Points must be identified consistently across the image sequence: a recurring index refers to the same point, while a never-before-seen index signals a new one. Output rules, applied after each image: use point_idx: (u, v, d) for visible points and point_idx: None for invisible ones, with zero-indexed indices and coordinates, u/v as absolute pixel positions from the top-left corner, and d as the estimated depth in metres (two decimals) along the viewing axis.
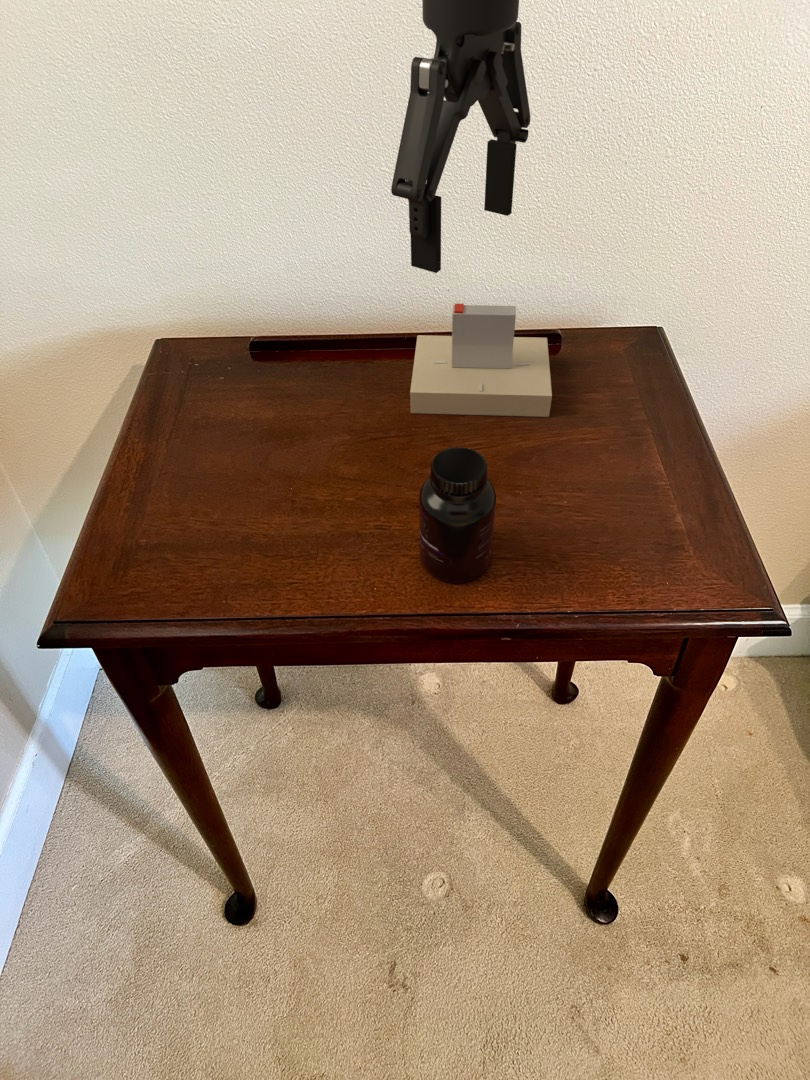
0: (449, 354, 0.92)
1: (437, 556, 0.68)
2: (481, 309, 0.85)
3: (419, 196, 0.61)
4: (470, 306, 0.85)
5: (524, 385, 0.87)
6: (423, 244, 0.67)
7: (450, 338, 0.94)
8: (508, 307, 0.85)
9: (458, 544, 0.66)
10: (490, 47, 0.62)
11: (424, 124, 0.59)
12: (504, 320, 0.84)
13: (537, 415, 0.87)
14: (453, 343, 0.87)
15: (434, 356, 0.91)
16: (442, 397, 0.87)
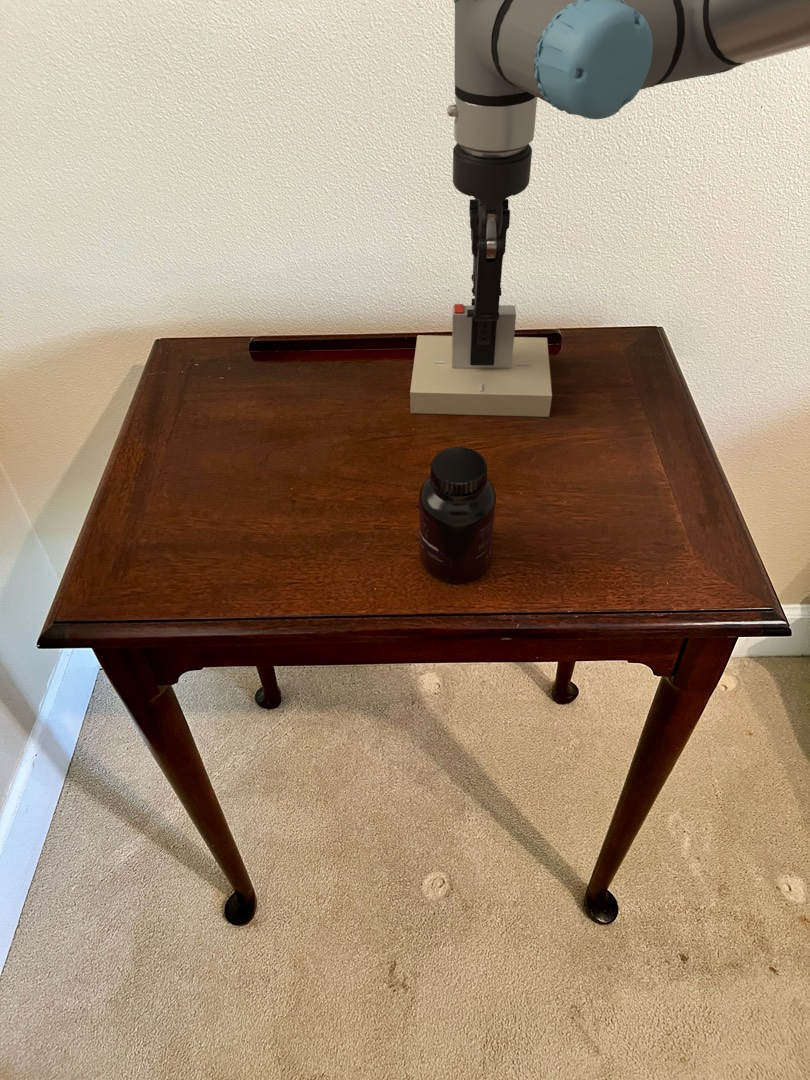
0: (449, 354, 0.92)
1: (437, 556, 0.68)
2: None
3: None
4: (470, 306, 0.85)
5: (524, 385, 0.87)
6: (483, 347, 0.86)
7: (450, 338, 0.94)
8: (508, 306, 0.85)
9: (458, 544, 0.66)
10: None
11: (495, 279, 0.77)
12: (505, 319, 0.85)
13: (537, 415, 0.87)
14: (453, 344, 0.87)
15: (434, 356, 0.91)
16: (442, 397, 0.87)
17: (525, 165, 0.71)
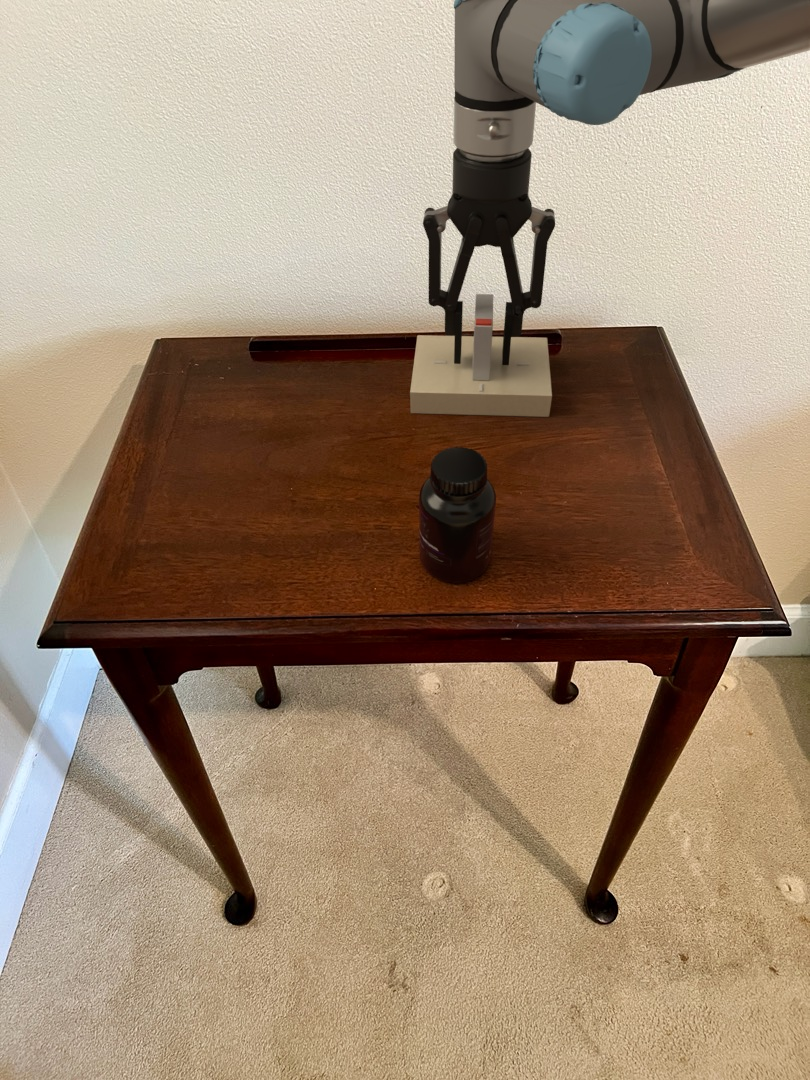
0: (449, 354, 0.92)
1: (437, 556, 0.68)
2: (483, 310, 0.85)
3: None
4: (477, 316, 0.84)
5: (524, 385, 0.87)
6: None
7: (450, 338, 0.94)
8: (479, 297, 0.87)
9: (458, 544, 0.66)
10: None
11: None
12: None
13: (537, 415, 0.87)
14: (490, 355, 0.85)
15: (434, 356, 0.91)
16: (442, 397, 0.87)
17: None
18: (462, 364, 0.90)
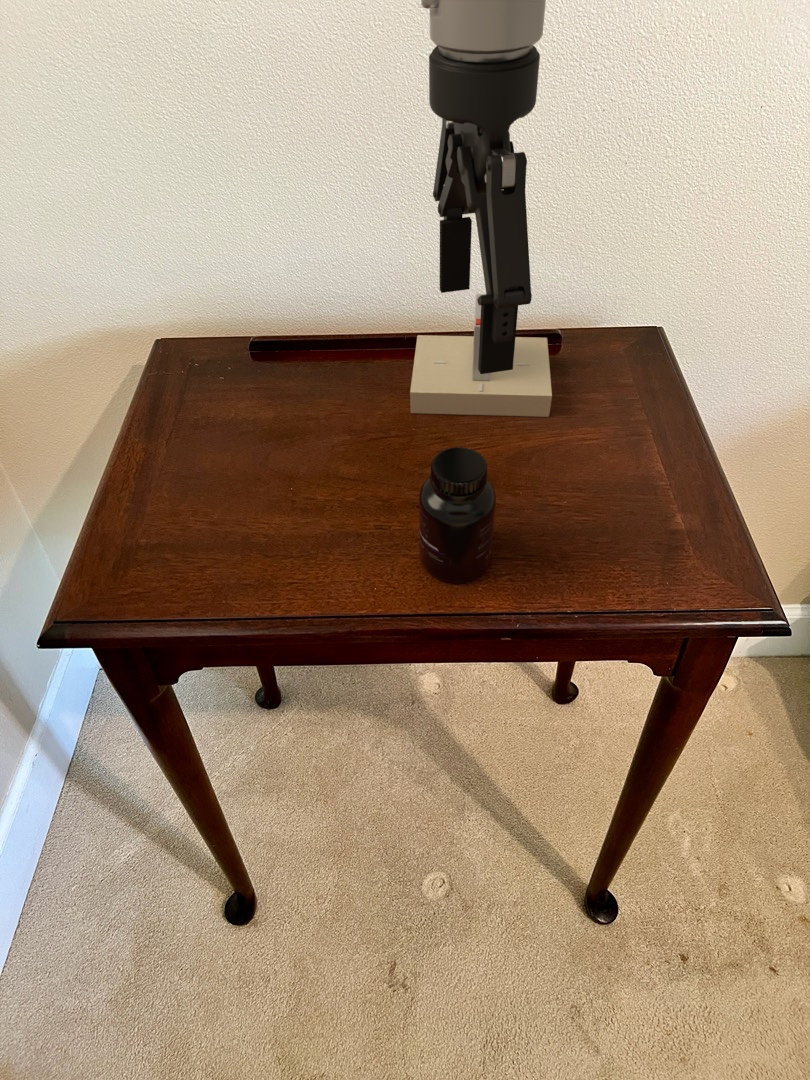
0: (449, 354, 0.92)
1: (437, 556, 0.68)
2: None
3: None
4: (477, 316, 0.84)
5: (524, 385, 0.87)
6: (498, 346, 0.60)
7: (450, 338, 0.94)
8: None
9: (458, 544, 0.66)
10: None
11: (519, 223, 0.52)
12: None
13: (537, 415, 0.87)
14: None
15: (434, 356, 0.91)
16: (442, 397, 0.87)
17: (536, 71, 0.51)
18: (462, 364, 0.90)
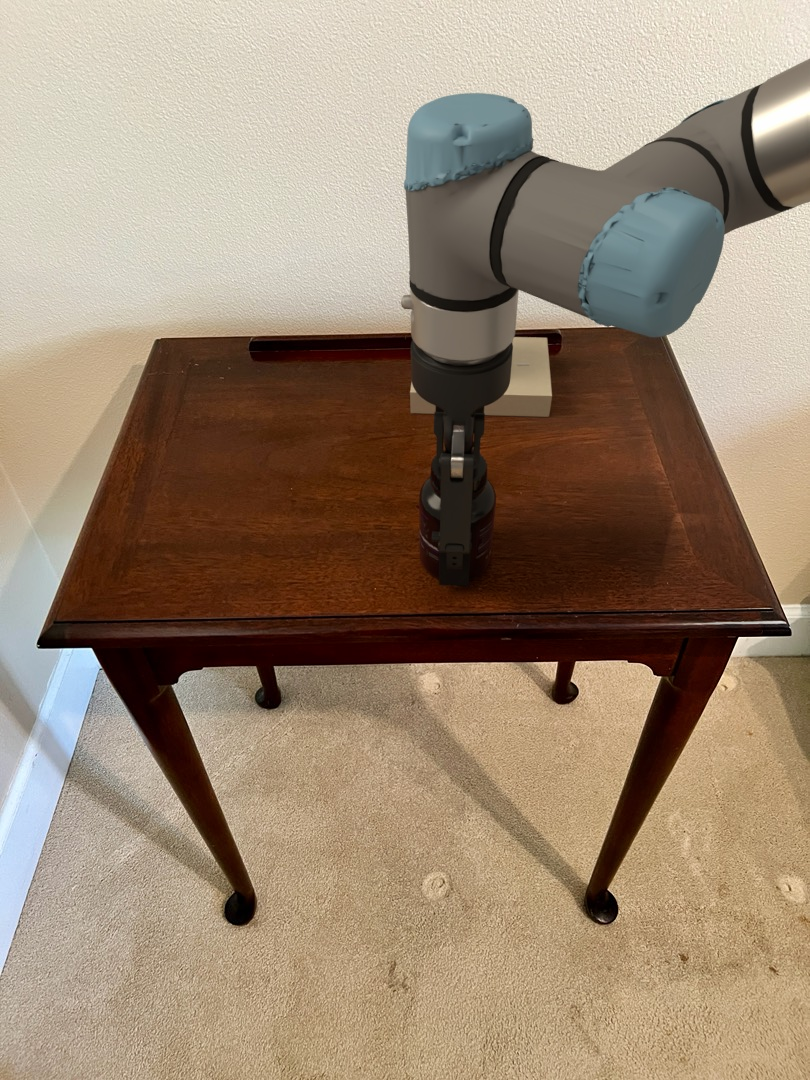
0: None
1: (437, 556, 0.68)
2: None
3: (470, 549, 0.62)
4: None
5: (524, 385, 0.87)
6: (454, 568, 0.68)
7: None
8: None
9: None
10: None
11: (464, 503, 0.58)
12: None
13: (537, 415, 0.87)
14: None
15: None
16: None
17: (502, 371, 0.55)
18: None
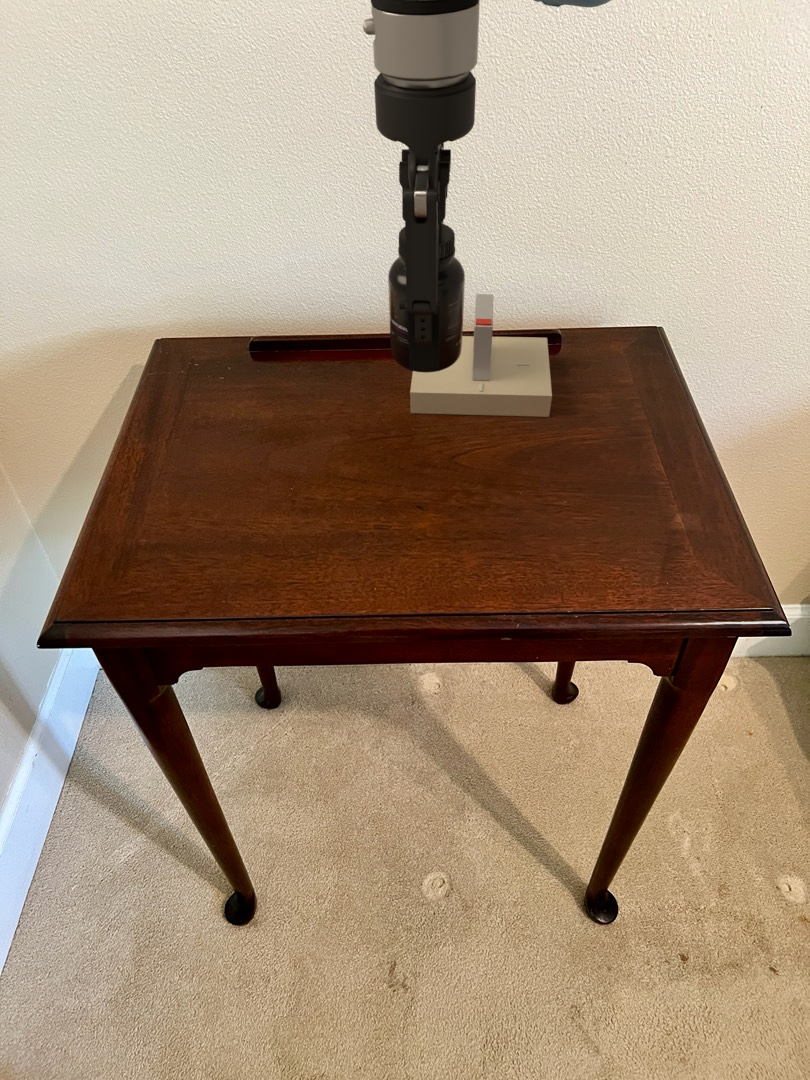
0: None
1: (407, 339, 0.69)
2: (483, 310, 0.85)
3: (437, 309, 0.62)
4: (477, 316, 0.84)
5: (524, 385, 0.87)
6: (423, 348, 0.68)
7: None
8: (479, 297, 0.87)
9: None
10: None
11: (429, 249, 0.59)
12: None
13: (537, 415, 0.87)
14: (490, 355, 0.85)
15: None
16: (442, 397, 0.87)
17: (465, 100, 0.55)
18: (462, 364, 0.90)
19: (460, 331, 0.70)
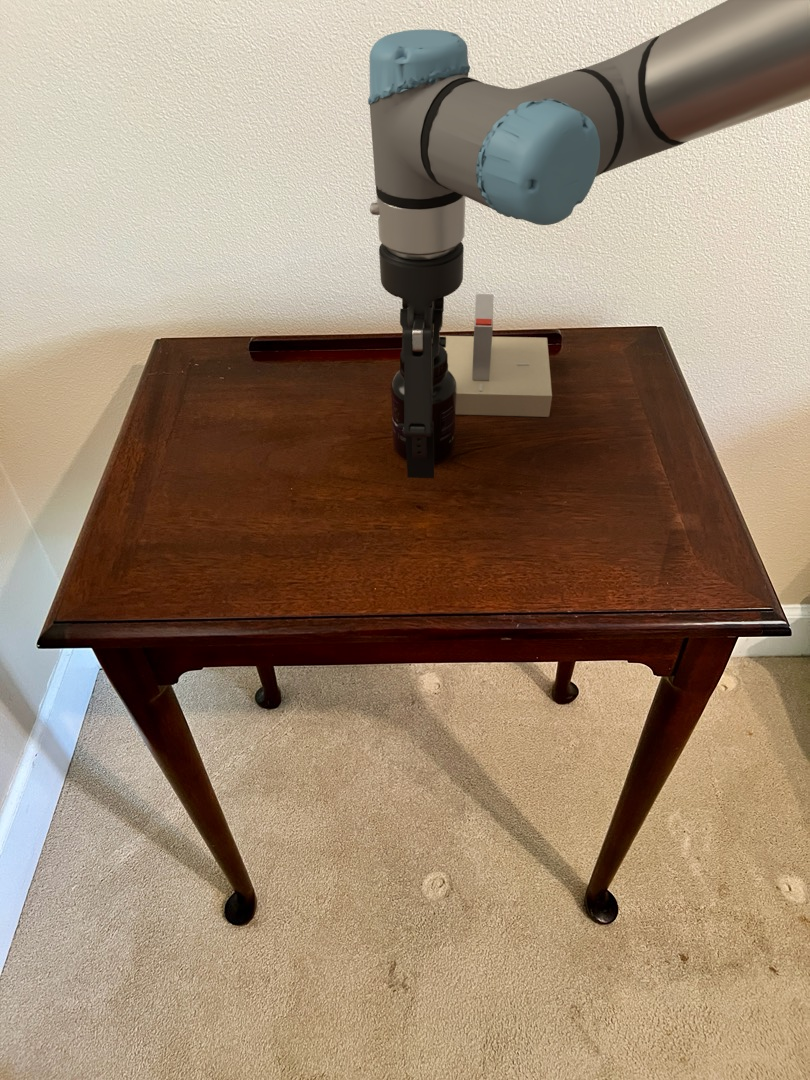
0: (449, 354, 0.92)
1: None
2: (483, 310, 0.85)
3: (431, 433, 0.70)
4: (477, 316, 0.84)
5: (524, 385, 0.87)
6: (420, 460, 0.76)
7: (450, 338, 0.94)
8: (479, 297, 0.87)
9: None
10: None
11: (424, 378, 0.68)
12: None
13: (537, 415, 0.87)
14: (490, 355, 0.85)
15: None
16: None
17: (454, 266, 0.66)
18: (462, 364, 0.90)
19: (453, 430, 0.81)
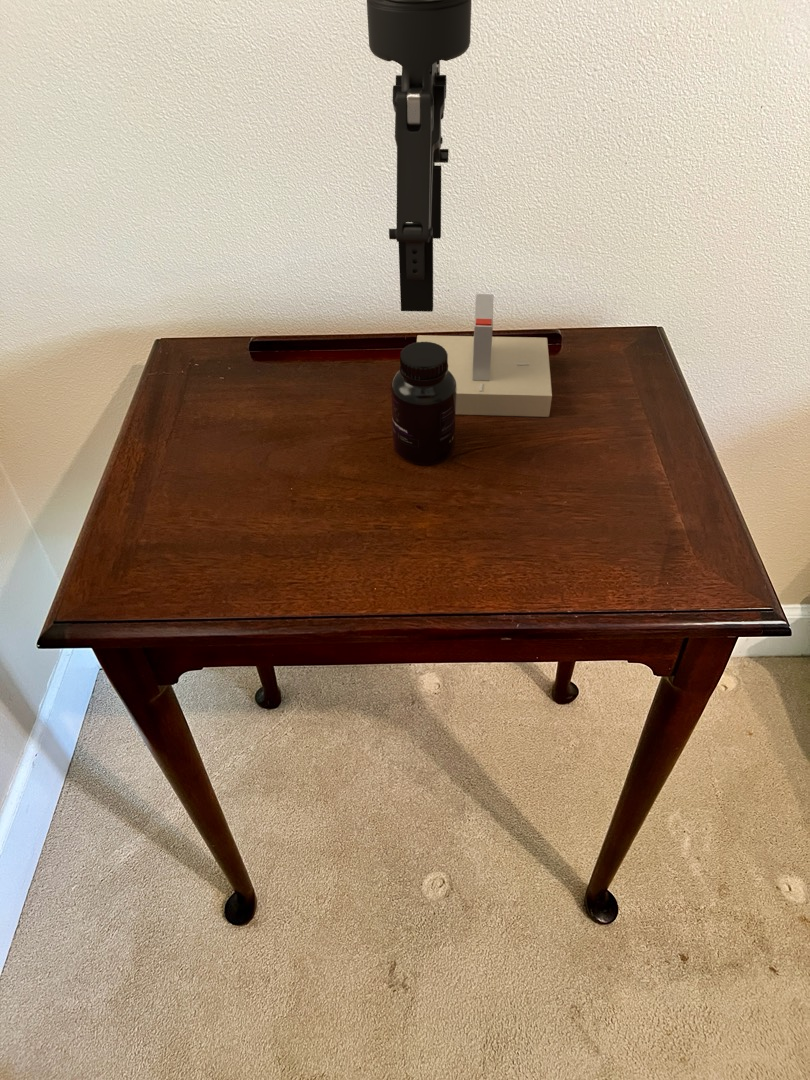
0: (449, 354, 0.92)
1: (407, 438, 0.80)
2: (483, 310, 0.85)
3: (430, 236, 0.57)
4: (477, 316, 0.84)
5: (524, 385, 0.87)
6: (416, 285, 0.63)
7: (450, 338, 0.94)
8: (479, 297, 0.87)
9: (424, 425, 0.78)
10: (435, 71, 0.59)
11: (422, 160, 0.55)
12: None
13: (537, 415, 0.87)
14: (490, 355, 0.85)
15: None
16: None
17: (460, 16, 0.53)
18: (462, 364, 0.90)
19: (453, 430, 0.81)
